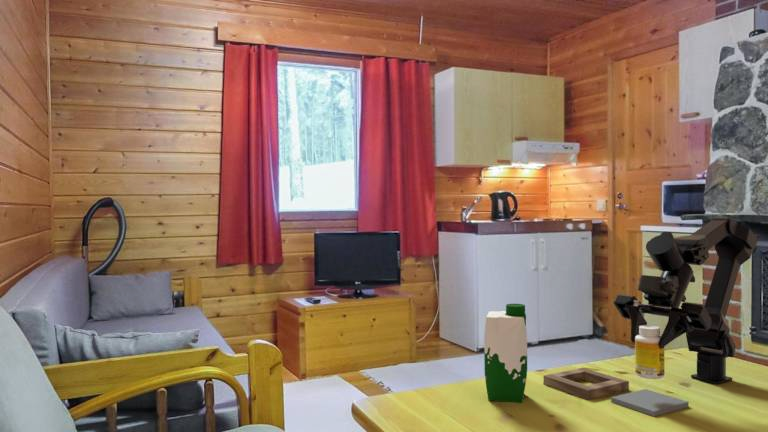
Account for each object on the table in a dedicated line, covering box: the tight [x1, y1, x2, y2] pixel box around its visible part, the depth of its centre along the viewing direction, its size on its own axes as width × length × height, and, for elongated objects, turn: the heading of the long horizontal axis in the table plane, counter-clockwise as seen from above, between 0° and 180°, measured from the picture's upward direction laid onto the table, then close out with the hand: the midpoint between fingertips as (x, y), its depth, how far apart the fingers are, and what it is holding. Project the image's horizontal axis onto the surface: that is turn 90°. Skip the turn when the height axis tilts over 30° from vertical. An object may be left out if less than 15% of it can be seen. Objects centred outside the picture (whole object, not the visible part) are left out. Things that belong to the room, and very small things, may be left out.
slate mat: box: [610, 388, 689, 417], centre depth 122 cm, size 11×10×1 cm
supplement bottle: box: [634, 324, 666, 380], centre depth 122 cm, size 6×6×10 cm
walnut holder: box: [543, 367, 630, 401], centre depth 134 cm, size 13×13×2 cm
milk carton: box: [483, 303, 528, 404], centre depth 127 cm, size 9×9×20 cm
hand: (646, 344), depth 121 cm, fingers closed on supplement bottle, 5 cm apart
